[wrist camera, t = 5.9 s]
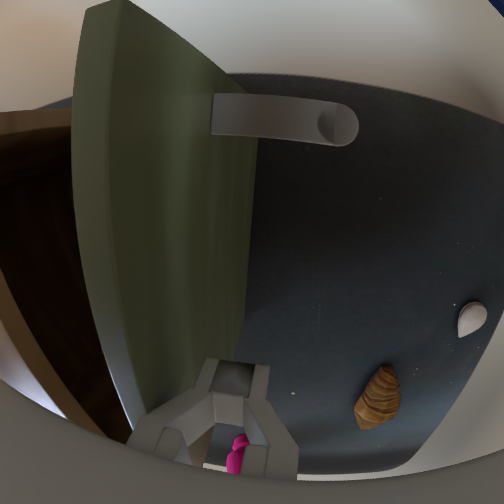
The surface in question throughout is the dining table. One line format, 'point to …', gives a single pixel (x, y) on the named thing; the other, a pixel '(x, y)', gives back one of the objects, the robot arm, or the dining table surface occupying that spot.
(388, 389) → the croissant
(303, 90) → the dining table surface
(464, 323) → the clam shell
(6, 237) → the cupboard
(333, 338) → the dining table surface
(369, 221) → the dining table surface
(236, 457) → the pepper mill
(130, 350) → the cupboard door
